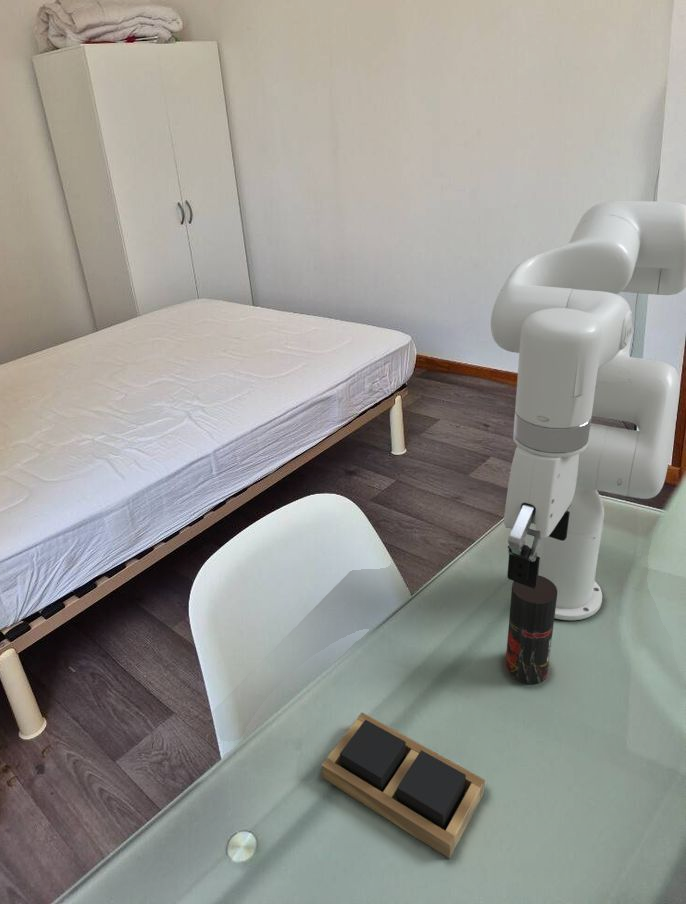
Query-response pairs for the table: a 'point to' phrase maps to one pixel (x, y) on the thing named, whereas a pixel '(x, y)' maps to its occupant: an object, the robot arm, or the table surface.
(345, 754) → the pad seated
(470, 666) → the table surface
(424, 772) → the pad loose
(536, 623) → the deodorant
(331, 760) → the frame
